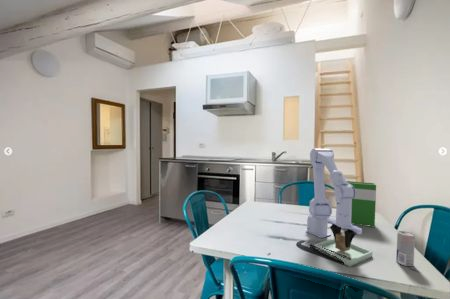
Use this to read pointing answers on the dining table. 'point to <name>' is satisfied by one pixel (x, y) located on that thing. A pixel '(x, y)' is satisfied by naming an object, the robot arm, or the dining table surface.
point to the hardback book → (363, 203)
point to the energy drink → (405, 248)
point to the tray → (346, 252)
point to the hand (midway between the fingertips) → (342, 244)
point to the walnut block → (341, 242)
